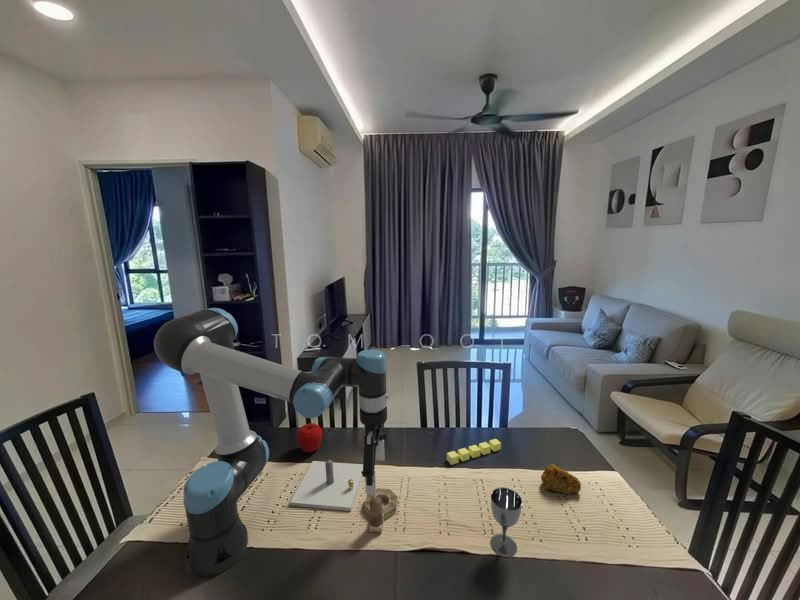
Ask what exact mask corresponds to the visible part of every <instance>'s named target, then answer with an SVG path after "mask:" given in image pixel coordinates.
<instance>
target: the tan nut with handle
mask: <svg viewBox="0 0 800 600" xmlns="http://www.w3.org/2000/svg"><path fill="white" fill-rule="evenodd" d="M398 497H399V496H397V495H396V493H395V492H394V491H393V490H391V489H390V488H380V487H379V488H377V487H376V495H373V494H366V496H365V501H364V505H363V508H364V511H365V512H366V513H367V514H368V516H369V517H370V519H369V520H370V522H369V529H368V530H369V533H371V534H382V533H383V528H384V524H385V520H387V519H388V518H390V517H392V516H393V515H394V514H396V513H397V509H398V502H399V498H398ZM383 501H386V502H387V504H386V505H383Z"/></svg>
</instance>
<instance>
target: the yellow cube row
mask: <svg viewBox="0 0 800 600" xmlns="http://www.w3.org/2000/svg"><path fill="white" fill-rule="evenodd" d="M491 450H492V451H493V452H499V451H500V450H501V451H502V442H501V441H499V440H498V439H497V438H493V439H490V440H489V441H488V442H487V441H483V442H480V443H478V445H476V444H473V445H469V446H468V449H467V448H466V447H462V448H460V449H458V450H457V452H456V451H455V450H452V451H449V452H446V461H447V462H448V463H449V464H450V465H451V466H452V465H455V464H459V463H460V460H461V462H465V461H468V460H470V457H471V458H473V459H475V458H478V457H481V454H482V455H483V456H485V455H488V454H491Z"/></svg>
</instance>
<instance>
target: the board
mask: <svg viewBox="0 0 800 600" xmlns="http://www.w3.org/2000/svg"><path fill="white" fill-rule="evenodd" d="M361 471H363V463H362V464H360V463H349V462H333V460H331V459H328V460H326V461H318V460H312V461H311V463H310V465H309V467H308V469H307V471H306V472H305V474H304V476H303V478H302V479H301V482H300V483H299V485H298V487H297V488H296V490H295V492H294V493H293V495H292V498H291V499H290V501H289V506H291V507H303V508H313V509H314V508H315V509H325V510H327V509H328V510H337V511H338V510H339V511H348V512H352V509H353V507H354V503H355V500H356V498H357V494H358V491H359V489H360V488H359V487H360V485H361V482H362V479H363V476H362V474H361ZM350 479H352V480H353V490H349V485H348V481H349V480H350Z"/></svg>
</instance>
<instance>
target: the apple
mask: <svg viewBox="0 0 800 600" xmlns="http://www.w3.org/2000/svg"><path fill="white" fill-rule="evenodd" d="M296 435H297V436H296V439H297V443H298V446H299V448H300V449H301V451H303V452H304V453H313V452H314V451H317V450H318V448H319V447H320V445H321V442H322V440H323V439H322V437H323V430H322V428H321V426H320V425H318V424H316V423H307V424H303V425H302V426H300V428H299V429H298V430H297V434H296Z"/></svg>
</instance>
